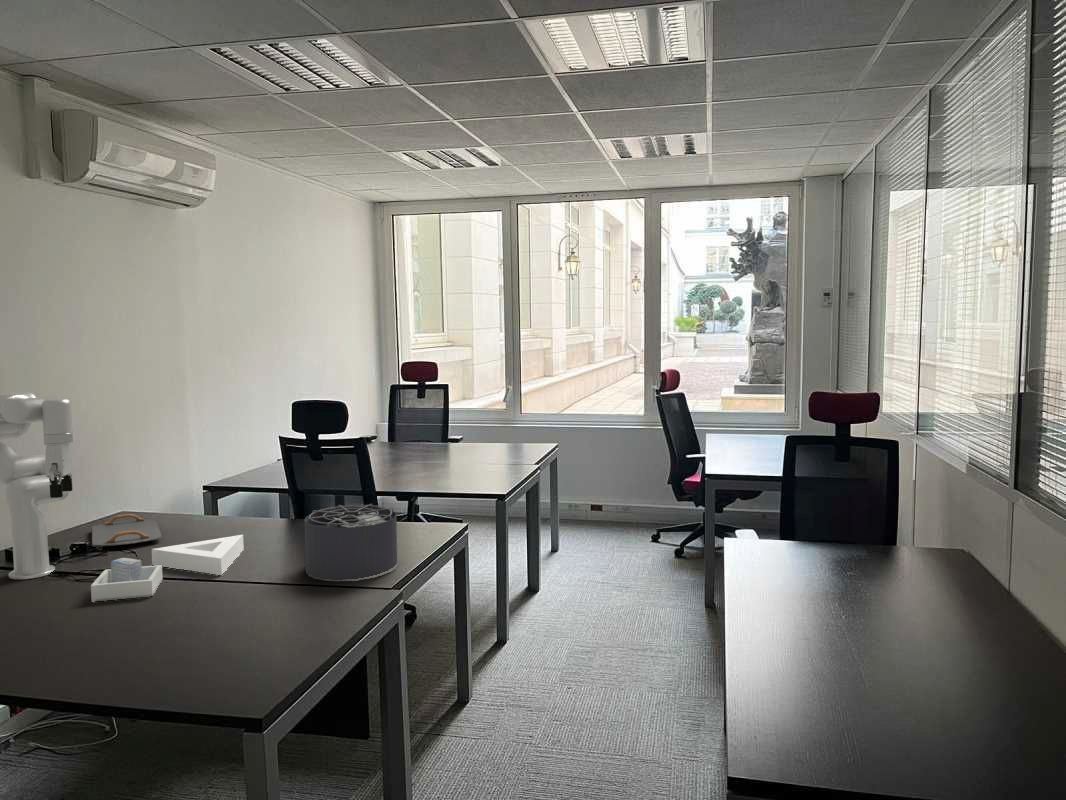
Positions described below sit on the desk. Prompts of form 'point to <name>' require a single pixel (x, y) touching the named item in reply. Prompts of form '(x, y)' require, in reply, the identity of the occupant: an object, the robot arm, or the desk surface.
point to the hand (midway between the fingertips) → (61, 494)
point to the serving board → (125, 532)
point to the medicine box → (126, 570)
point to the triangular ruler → (200, 555)
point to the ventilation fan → (350, 542)
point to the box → (126, 585)
